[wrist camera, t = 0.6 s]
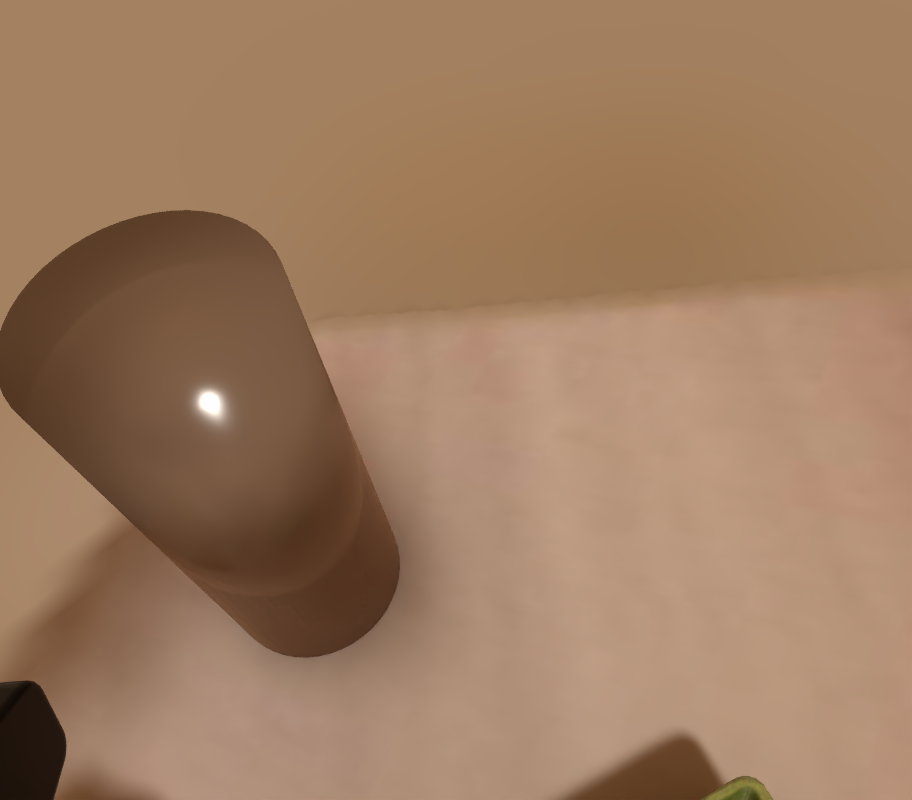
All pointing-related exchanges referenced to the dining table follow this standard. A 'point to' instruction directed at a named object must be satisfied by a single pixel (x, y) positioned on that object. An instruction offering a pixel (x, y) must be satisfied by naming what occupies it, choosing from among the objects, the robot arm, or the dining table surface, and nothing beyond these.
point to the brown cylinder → (207, 421)
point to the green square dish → (740, 790)
